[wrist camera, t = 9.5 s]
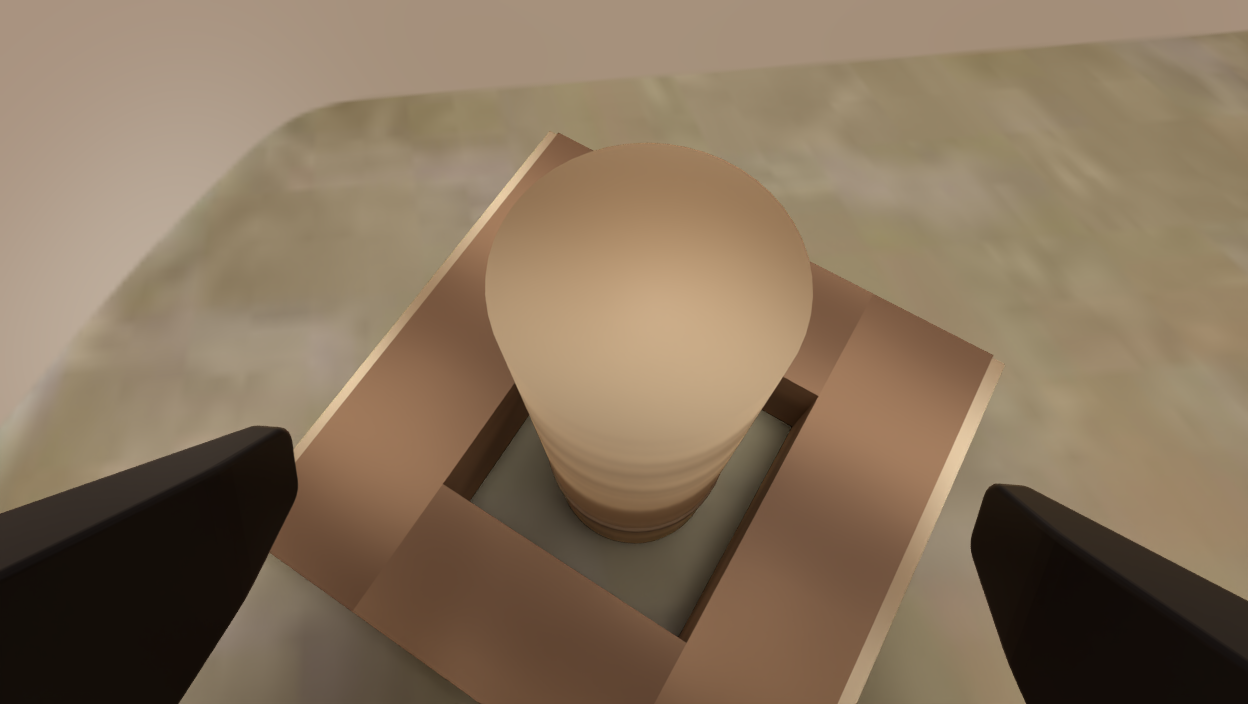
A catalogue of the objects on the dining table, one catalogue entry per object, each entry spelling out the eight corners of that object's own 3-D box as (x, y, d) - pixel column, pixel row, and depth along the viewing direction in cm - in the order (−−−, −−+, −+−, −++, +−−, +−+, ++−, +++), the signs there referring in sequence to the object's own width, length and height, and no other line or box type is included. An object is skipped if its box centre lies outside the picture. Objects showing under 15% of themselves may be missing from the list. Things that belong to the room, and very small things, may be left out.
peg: (703, 555, 20) (811, 462, 8) (546, 533, 20) (447, 414, 9) (716, 403, 21) (821, 158, 10) (571, 385, 21) (515, 124, 10)
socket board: (743, 874, 17) (768, 924, 14) (276, 541, 20) (219, 527, 17) (962, 393, 21) (1013, 358, 19) (557, 179, 24) (548, 121, 21)
